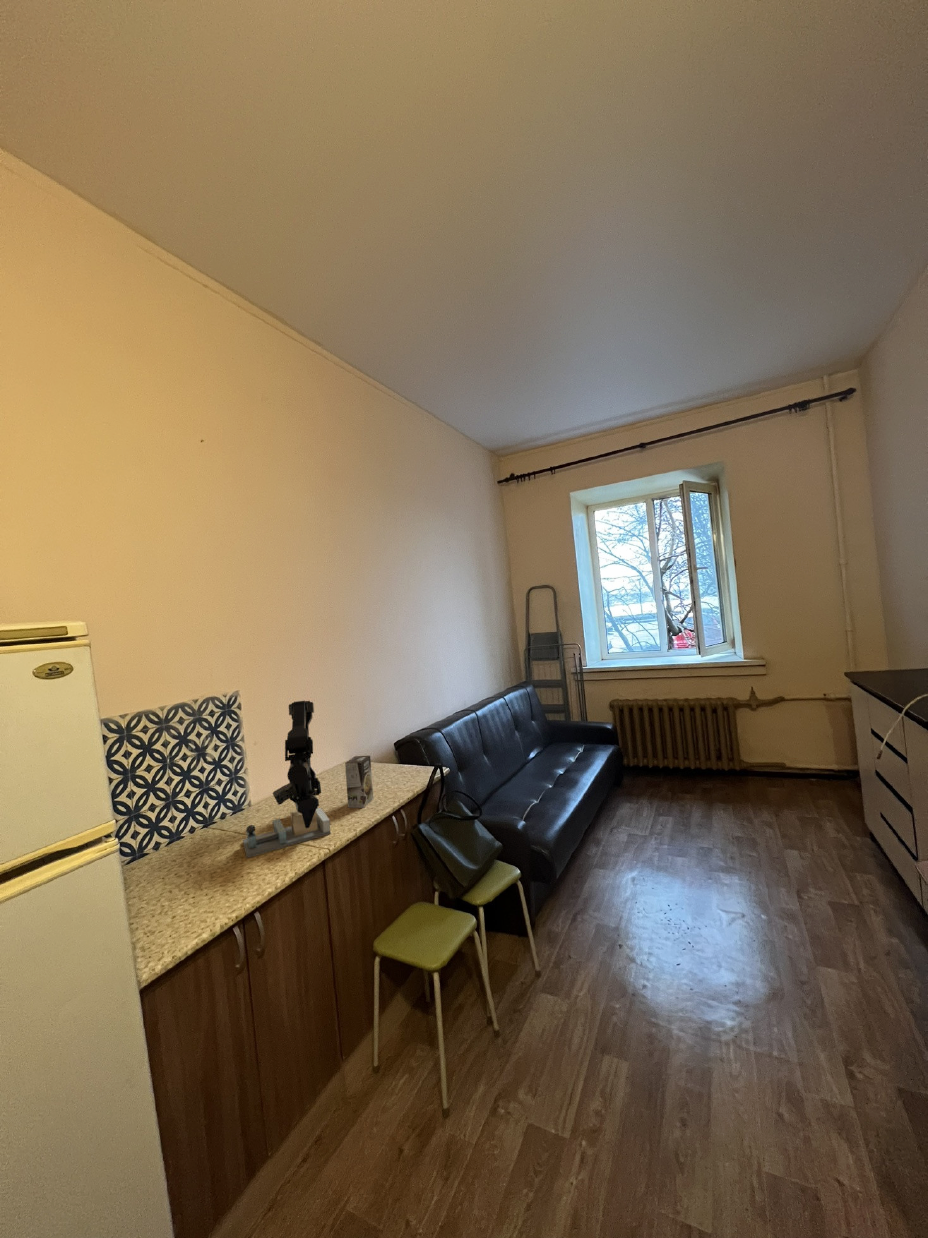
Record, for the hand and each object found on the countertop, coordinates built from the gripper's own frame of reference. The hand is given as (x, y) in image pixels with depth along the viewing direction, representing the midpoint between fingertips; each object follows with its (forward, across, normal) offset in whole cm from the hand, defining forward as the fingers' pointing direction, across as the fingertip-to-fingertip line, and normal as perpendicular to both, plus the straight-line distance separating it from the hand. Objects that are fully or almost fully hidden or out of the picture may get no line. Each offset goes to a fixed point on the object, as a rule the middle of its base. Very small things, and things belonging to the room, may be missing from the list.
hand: (304, 823), depth 152 cm
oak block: (+2, 0, 0) cm, 2 cm away
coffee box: (+4, -13, +22) cm, 26 cm away
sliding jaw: (+2, 0, -12) cm, 12 cm away
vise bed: (+3, 0, -6) cm, 6 cm away
